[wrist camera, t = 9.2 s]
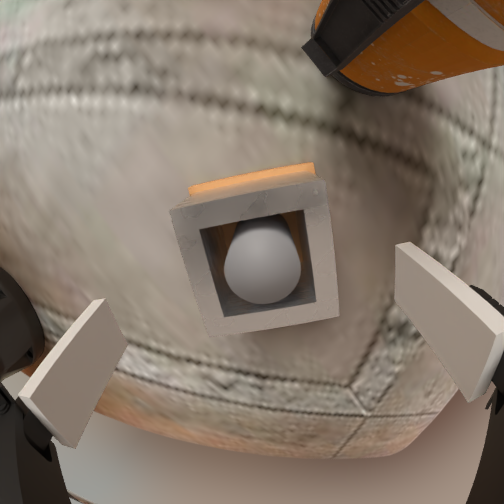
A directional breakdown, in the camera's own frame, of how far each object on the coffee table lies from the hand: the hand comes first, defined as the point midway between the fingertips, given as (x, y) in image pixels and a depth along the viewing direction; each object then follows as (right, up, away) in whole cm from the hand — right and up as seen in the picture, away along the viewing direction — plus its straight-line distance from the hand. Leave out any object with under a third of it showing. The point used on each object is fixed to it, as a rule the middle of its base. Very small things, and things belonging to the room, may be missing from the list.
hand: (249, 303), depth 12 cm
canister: (+8, +18, +5) cm, 20 cm away
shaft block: (+1, +4, +10) cm, 11 cm away
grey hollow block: (+1, +3, +9) cm, 10 cm away
